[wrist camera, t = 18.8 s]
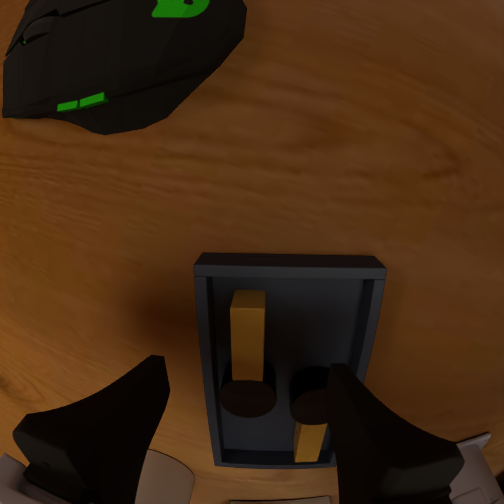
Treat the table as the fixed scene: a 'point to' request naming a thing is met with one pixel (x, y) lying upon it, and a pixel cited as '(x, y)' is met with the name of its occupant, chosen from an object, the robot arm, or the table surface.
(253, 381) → the key
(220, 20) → the computer mouse
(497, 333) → the table surface
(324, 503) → the cosmetics box
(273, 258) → the tray
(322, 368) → the key
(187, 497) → the pill bottle
